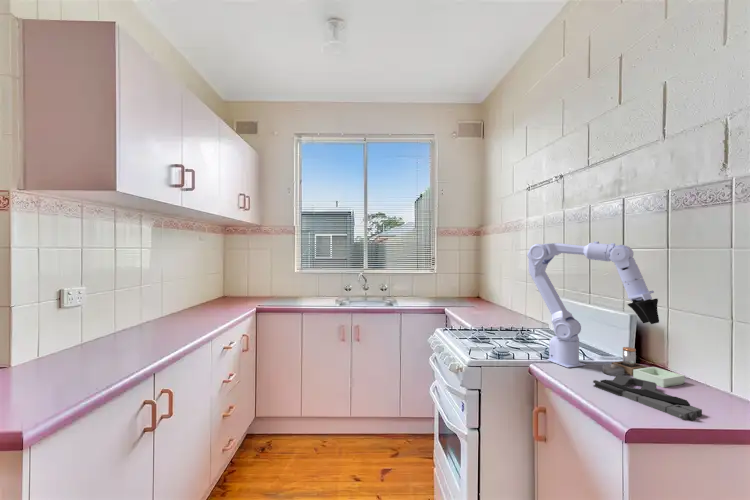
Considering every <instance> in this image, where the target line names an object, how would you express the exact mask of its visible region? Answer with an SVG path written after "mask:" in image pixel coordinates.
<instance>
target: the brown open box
mask: <svg viewBox="0 0 750 500" xmlns="http://www.w3.org/2000/svg"><path fill="white" fill-rule="evenodd" d="M647 367H648V366H646V365H643V364H640V363H636V367H627V366H624V365H623V360H621V361H615V362H614V361H613V362H611V363H610V364H603V365H602V373H603V374H605V375H607V376H612V377H616V376H617V375H622V376H625V375H629V376H630V377H631V376H633V370H634V369H641V368H647Z"/></svg>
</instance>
